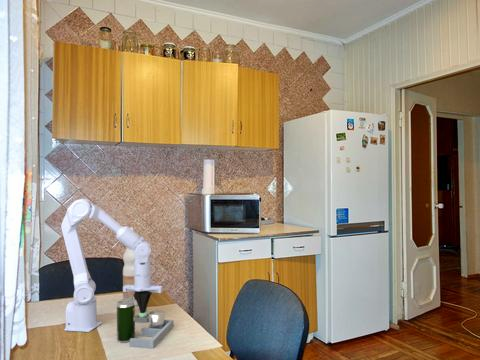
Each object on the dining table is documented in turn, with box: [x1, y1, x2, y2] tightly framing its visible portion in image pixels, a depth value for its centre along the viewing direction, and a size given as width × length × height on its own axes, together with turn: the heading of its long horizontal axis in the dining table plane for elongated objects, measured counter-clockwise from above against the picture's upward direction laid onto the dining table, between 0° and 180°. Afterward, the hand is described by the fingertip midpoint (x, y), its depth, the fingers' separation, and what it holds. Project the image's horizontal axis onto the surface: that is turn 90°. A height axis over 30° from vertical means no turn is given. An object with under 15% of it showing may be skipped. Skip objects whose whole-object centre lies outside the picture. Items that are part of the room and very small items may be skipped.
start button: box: [138, 310, 148, 318], centre depth 132 cm, size 3×3×2 cm
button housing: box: [135, 312, 150, 324], centre depth 132 cm, size 5×5×2 cm
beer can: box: [116, 299, 136, 344], centre depth 116 cm, size 5×5×12 cm
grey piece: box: [129, 319, 174, 349], centre depth 118 cm, size 8×17×2 cm, turn 170°
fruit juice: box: [122, 234, 141, 307], centre depth 152 cm, size 9×9×28 cm
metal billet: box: [148, 309, 165, 329], centre depth 122 cm, size 5×5×6 cm
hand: (143, 311), depth 132 cm, fingers closed
